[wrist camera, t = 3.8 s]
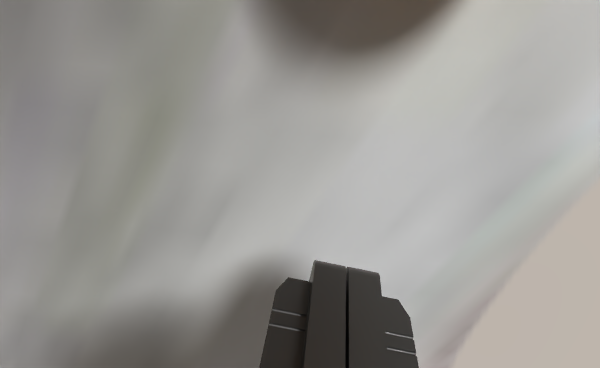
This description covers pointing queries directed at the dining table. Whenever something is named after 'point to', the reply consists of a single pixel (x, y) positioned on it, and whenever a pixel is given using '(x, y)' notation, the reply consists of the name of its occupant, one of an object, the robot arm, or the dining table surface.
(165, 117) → the dining table surface
